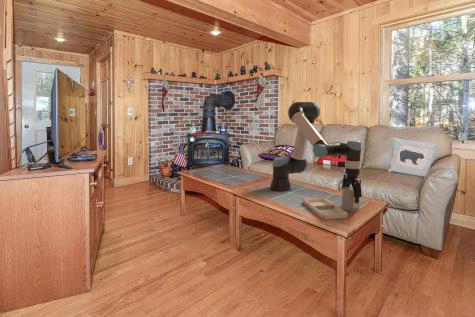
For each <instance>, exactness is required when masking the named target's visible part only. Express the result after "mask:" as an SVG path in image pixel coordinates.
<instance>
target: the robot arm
mask: <svg viewBox="0 0 475 317" xmlns="http://www.w3.org/2000/svg"><path fill="white" fill-rule="evenodd" d="M287 115H288V118H289V120H290V121H291V123H292V124H295V126H296V127H297V131H296V138H295V141H294V144H293V145H294V147H293V151H292V152H291V153H290V154H289V155H290V156H289V157H288V156H278V157H275V158H274V159H273V161H272V180H271V182H270V185H269V186H270V187H269V188H270V189H271V190H272V191H276V192H287V191H291V189H292V185H291V181H290V179H289V178H290V174H291V175H292V174H301V173H304V172H306V170H307V168H308V166H309V163H308V159H307V156H306V150H307V146H308V142H309V143H310V145H311V146H312V153H313V155H314V157H317V158H324V157H336V156H343V157H345V172H344V174H343V180H342V184H341V190H343V187H344V186H345V187H350V186H352V187H353V190H354V197H353V208H358V203H359V204H360V199H359V197H360V198H363V196H362V195H363V194H362V180H361V179H359V178H358V176H359V175H360V173H361V172H360V171H361V170H360V168H361V156H362V142H361V141H360V140H348V141H347V142H346V143H344V142H340V141H334V142H331V143H330V142H329V143H327V142H326V140H325V139H324V137H322V135H321V134H320V133H319V132H318V130H317V129H315V127H314V126H313V124H314V123H315V121H316V120H317V119H318V118H319V117H320V115H321V107H320V106H319V104H318V103H316V102H313V101H295V102H293V103H292V104H290V106H289V107H288V111H287Z"/></svg>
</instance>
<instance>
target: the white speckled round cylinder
mask: <svg viewBox="0 0 475 317" xmlns="http://www.w3.org/2000/svg"><path fill="white" fill-rule="evenodd" d="M341 195H342V196H341V207H340V208H341V209H343V210H344V211H346V212H348V211H349V212H359V209H360V202H359V203H358V208H353V197H354V190H353V187H352V186H351V185H350V187H345V186H344V187H343V189H342V194H341ZM360 198H361V197H359V200H360Z"/></svg>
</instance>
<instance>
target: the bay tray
mask: <svg viewBox="0 0 475 317" xmlns="http://www.w3.org/2000/svg"><path fill="white" fill-rule="evenodd" d="M302 203H303V204H304V205H305V206H306V207H308V208H309V209H310V210H311V211H313V213H315V214H316V215H318V216H319V218H321V219H322V220H335V219H348V218H349V213H348V211H347V210H344V209H342V208H341V207H339V205H337V204H335V203H334V202H332V201H330V200H328V199H327V198H325V197H313V198H303V199H302Z"/></svg>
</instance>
